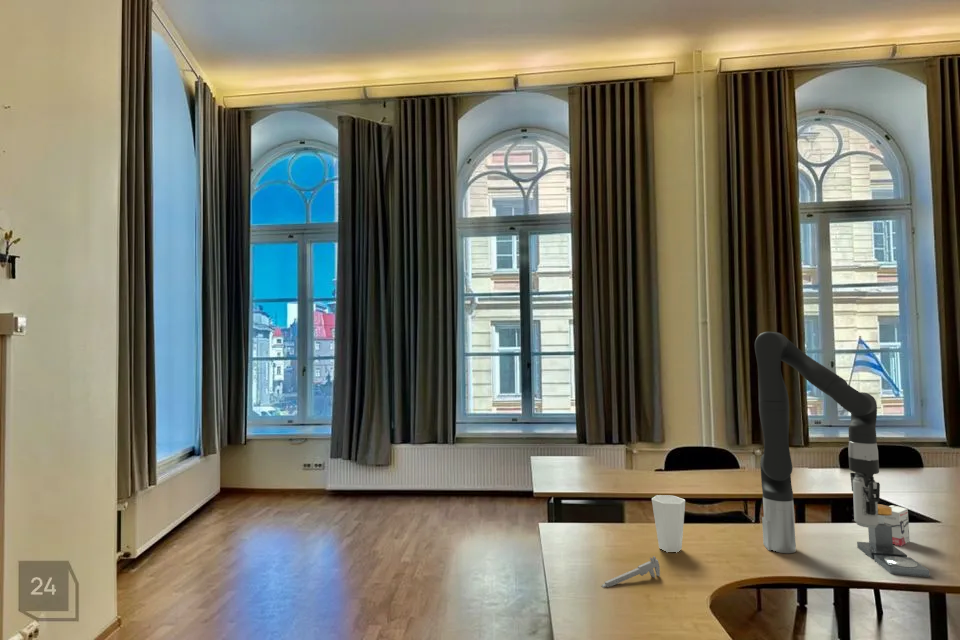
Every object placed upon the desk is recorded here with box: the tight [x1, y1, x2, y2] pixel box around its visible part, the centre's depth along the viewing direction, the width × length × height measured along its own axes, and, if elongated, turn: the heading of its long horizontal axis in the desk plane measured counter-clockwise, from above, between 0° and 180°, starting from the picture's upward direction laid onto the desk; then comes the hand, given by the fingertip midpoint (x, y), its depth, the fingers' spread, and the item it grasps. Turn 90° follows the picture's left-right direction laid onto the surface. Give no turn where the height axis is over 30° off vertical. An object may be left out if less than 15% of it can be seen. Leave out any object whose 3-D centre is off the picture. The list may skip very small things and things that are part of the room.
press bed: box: [873, 555, 931, 578], centre depth 159 cm, size 10×10×2 cm
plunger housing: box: [856, 522, 908, 560], centre depth 171 cm, size 10×10×10 cm
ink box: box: [884, 504, 911, 547], centre depth 182 cm, size 8×5×12 cm, turn 123°
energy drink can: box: [852, 475, 879, 529], centre depth 159 cm, size 6×6×15 cm
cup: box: [651, 494, 686, 554], centre depth 178 cm, size 11×10×17 cm
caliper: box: [601, 555, 661, 589], centre depth 153 cm, size 20×1×6 cm, turn 111°
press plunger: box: [878, 503, 892, 525], centre depth 171 cm, size 7×7×9 cm
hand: (865, 510), depth 159 cm, fingers closed on energy drink can, 6 cm apart
